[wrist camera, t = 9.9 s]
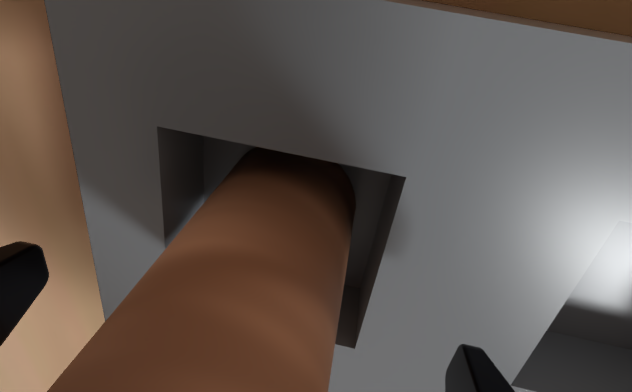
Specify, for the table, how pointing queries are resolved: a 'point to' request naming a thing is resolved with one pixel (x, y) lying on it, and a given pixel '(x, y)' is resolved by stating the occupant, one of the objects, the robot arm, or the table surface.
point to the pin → (236, 290)
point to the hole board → (379, 167)
